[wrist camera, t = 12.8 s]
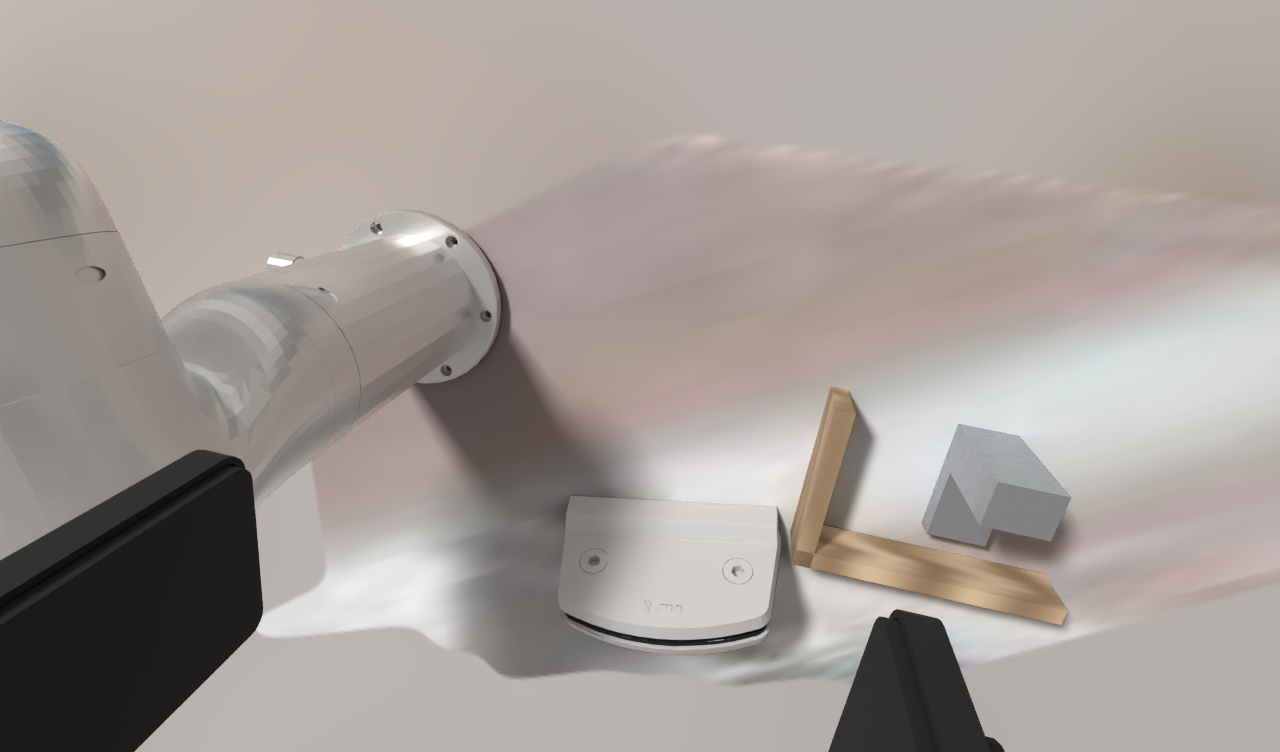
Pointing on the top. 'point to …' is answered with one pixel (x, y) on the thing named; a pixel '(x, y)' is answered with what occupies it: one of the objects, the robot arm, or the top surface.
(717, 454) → the top surface
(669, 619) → the hinge
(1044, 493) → the bracket
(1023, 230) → the top surface
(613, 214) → the top surface
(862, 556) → the wooden corner frame
